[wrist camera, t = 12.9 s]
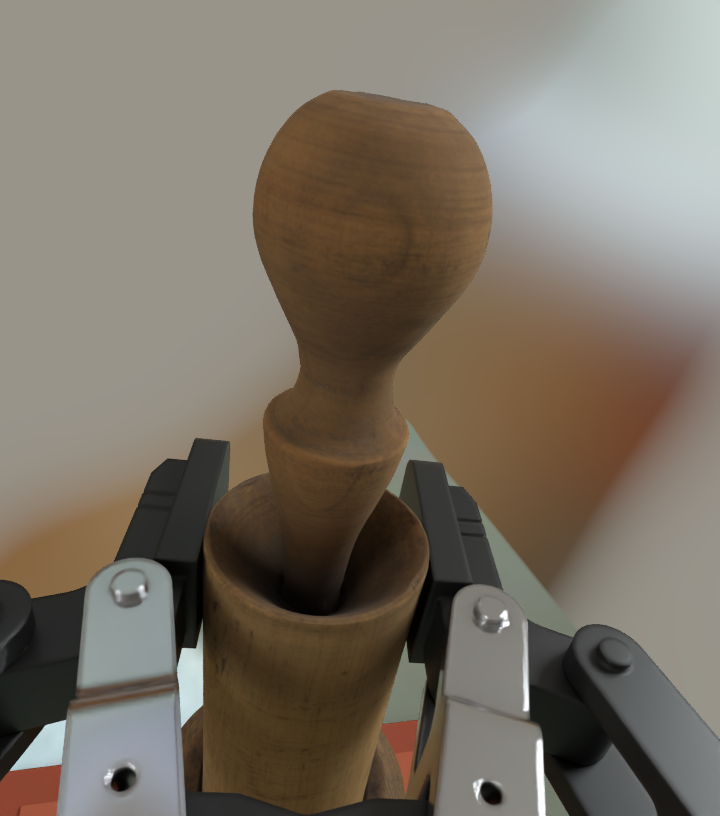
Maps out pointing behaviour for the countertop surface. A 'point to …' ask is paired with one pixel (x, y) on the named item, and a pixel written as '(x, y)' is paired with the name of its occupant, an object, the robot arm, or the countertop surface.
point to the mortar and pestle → (333, 455)
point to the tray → (39, 787)
